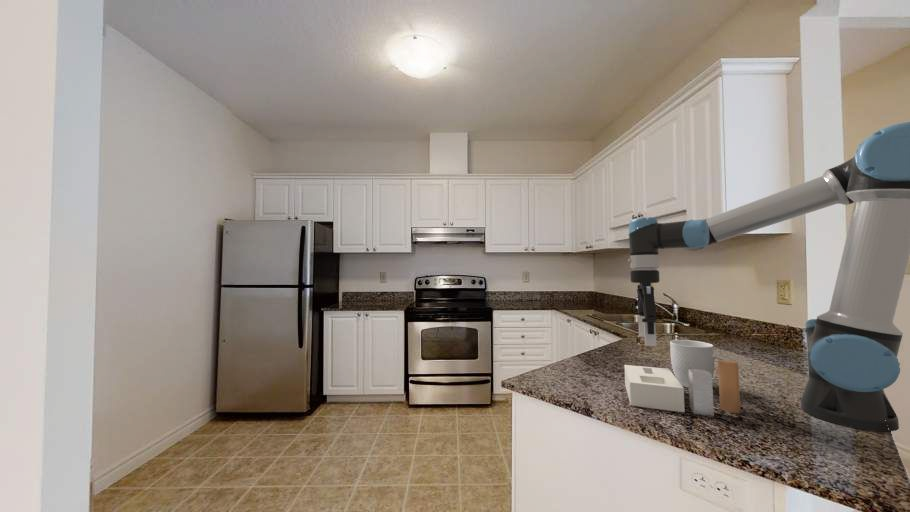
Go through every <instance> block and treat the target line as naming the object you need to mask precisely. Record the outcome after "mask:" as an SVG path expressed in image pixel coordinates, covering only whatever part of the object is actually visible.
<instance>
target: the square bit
mask: <svg viewBox="0 0 910 512" xmlns="http://www.w3.org/2000/svg"><path fill="white" fill-rule="evenodd" d="M688 374H689V388H688V393H689V408H690V410H691V411H692V413H693V414H694V415H699V414H700V415H701V416H707V415H711V416H710V417H715V413H714V412H715V411H714V390H713V383H712V379H713V377H712V374H711V373H709V372H708V371H707V370H698V369H688Z"/></svg>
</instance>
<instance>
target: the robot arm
mask: <svg viewBox="0 0 910 512" xmlns="http://www.w3.org/2000/svg"><path fill="white" fill-rule="evenodd" d="M851 204H853V208H852V212H851V217H850V221H849V225H848V230H847V233H846V238H845V243H844V247H843V249H842V254H841V255H842V256H841V258H840V263H839V269H838V271H837V276H836V280H835V285H834V289H833V294H832V298H831V303H830V306H829V310H828V311H827V312H824V313H821V314H820V315H816V319H815V318H812V319H811V318H810V319H809V320H807V321H806V322H805V323H806V324H805V328H804V332H805V334H806V351H807V364H808V367H807V368H808V381H807V383H806V385H805V387H804V391H803V393H802V394H801V398H800V408H801V410H802V411H803V412H805V413H806V414H809V415H811V416H813V417H815V418H818V419H820V420H823V421H827V422H828V423H829V422H830V423H832V424H833V423H834V424H838V425H841V426H845V427H850V428H855V429H859V430H860V429H861V430H868V431H876V432H895V431H898V430H899V429H900V424H899V418H898V416H897V414H896V412H895V410H894V407H893V406H892V404H891V402H890V401H889V399H888V396H887V395H886V393H885V390H884V389H888V388H889V387H890V386H892V385H893V384H894V383H895V382H896V381H897V379H898V378H899V375H900V372H901V367H900V365H901V364H900V362H899V359H898V354H899V349H900V346H901V342H902V338H903V334H904V333H903V332H902V331H901V330H900V329H899V328H898V327H897V326H896V325H895V324H894V320H895V319H894V318H895V315H896V310H897V307H898V303H899V300H900V296H901V295H900V294H901V291H902V287H903V283H904V279H905V276H906V273H907V272H906V271H907V268H908V267H907V266H908V262H909V259H910V121H907V122H901V123H896V124H893V125H889V126H887V127H883V128H881V129H879V130H877V131H876V132H874V133H873V134H871V135H870V136H868V137H867V138H865V139H864V140H863V141H862V142H861V143H860V144H859V146H858V148H856V150H855V153H854V155H853V157H852V158H850V159H848V160H846V161H845V162H843V163H841V164H839V165H836V166H834V167H831V168H829V169H826V170H825V171H824V172H823V174H822V176H821V175H820V176H819V177H816V178H813V179H811V180H808V181H805V182H803V183H800V184H798V185H795V186H792V187H790V188H787V189H784V190H781V191H778V192H776V193H772V194H771V195H770V194H769V195H768V196H765V197H762V198H760V199H758V200H755V201H752V202H749V203H746V204H744V205H740V206H738V207H735V208H734V209H733V208H732V209H730V210H728V211H725V212H722V213H720V214H717V215H714V216H711V217H709V218H706V219H689V220H681V221H673V222H664V223H661V222H658V219H657V218H656V217H651V216H649V217H647V216H646V217H637V218H633V219H631V220H630V221H629V223H628V224H629V225H628V226H629V227H628V241H629V242H628V243H629V257H630V258H628V259H627V261H628V263H630V269H632V270H630V282H631V283H632V284H633V283H634V284H635V283H636V284H637V285H636V286H637V289H636V293H637V309H636V311H637V317H638V320H637V322H638V337H640V338H644V346H647V347H648V346H649V347H657V321H658V318H657V317H658V316H657V312H656V311H657V309H656V301H655V294H654V293H655V287H654V286H652V285H651V284H657V283H659V282H660V271H659V270H658V269H659V268H660V255H659V250H665V249H666V250H667V249H683V250H688V251H693V252H695V251H699V250H702V249H704V248H706V247H707V246H711V245H713V244H716V243H720V242H722V241H726V240H728V239H731V238H734V237H738V236H741V235H744V234H747V233H750V232H753V231H757V230H759V229H762V228H765V227H769V226H773V225H775V224H778V223H782V222H783V221H788V220H790V219H793V218H797V217H801V216H803V215H806V214H809V213H812V212H816V211H818V210H822V209H825V208H828V207H831V206H834V205H844V206H845V205H846V206H848V205H851ZM885 420H886V421H885ZM887 425H888V426H887ZM888 428H889V430H890V431H889V430H888Z"/></svg>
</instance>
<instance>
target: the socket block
mask: <svg viewBox="0 0 910 512" xmlns="http://www.w3.org/2000/svg"><path fill="white" fill-rule="evenodd" d="M624 385H625V389H626V393H627V396H628V400H629V405H630V406H632V407H641V408H646V409H647V408H648V409H653V410H654V409H656V410H663V411H670V412H671V411H672V412H679V413H685V389H684V388H685V387H684V386H682V385H681V384H680V383H679V381H678V380H677V379H676V377H675V374H674V372H673V371H671V369H670V368H666V367H665V368H664V367H655V366H654V367H653V366H642V365H630V364H624Z"/></svg>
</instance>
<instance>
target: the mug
mask: <svg viewBox="0 0 910 512" xmlns="http://www.w3.org/2000/svg"><path fill="white" fill-rule="evenodd" d="M669 344H670V347H669V348H670V349H669V350H670V353H669V354H670V363H671V368H672V370H673V371H672V373H673V375H674V376H675V377H676V379H677V380H678V381H679V383H680V384H681V385H682V387H683V388H688V389H689V374H688V369H698V370H707V371H708V372H709V373H711V374H712V385H713V384H715V385H716V384H718V385H719V379H718V380H716V379H713V376H714V373H715V360H727V359H726V358H725V357H723V356H721V355H718V354H715V351H714V350H715V349H714V345H713V344H712V343H708V342H704V341H700V340H699V341H698V340H689V339H688V340H687V339H673V340H670V341H669Z"/></svg>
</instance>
